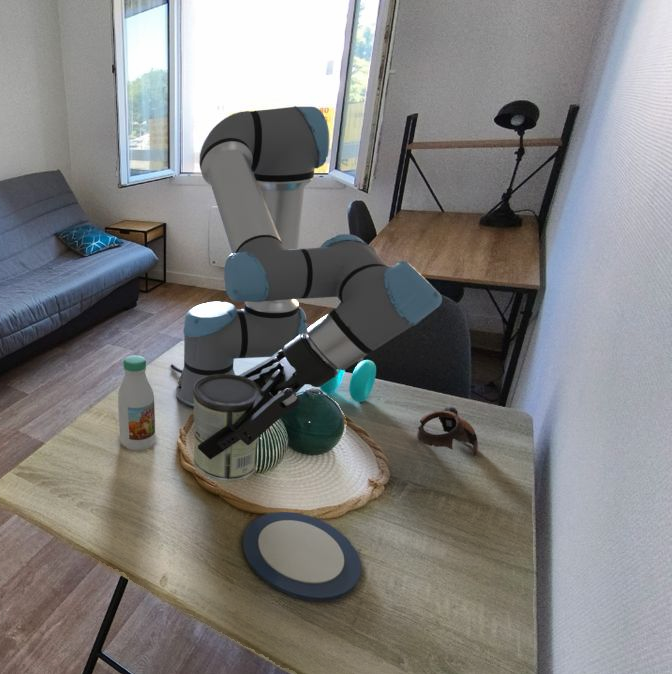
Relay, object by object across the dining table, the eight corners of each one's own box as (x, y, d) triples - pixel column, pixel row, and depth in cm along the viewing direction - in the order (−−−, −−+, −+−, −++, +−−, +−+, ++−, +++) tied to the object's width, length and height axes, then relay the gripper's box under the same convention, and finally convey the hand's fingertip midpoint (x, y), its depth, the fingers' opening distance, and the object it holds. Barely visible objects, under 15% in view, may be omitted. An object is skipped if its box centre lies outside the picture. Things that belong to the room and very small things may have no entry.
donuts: (360, 410, 114) (367, 371, 110) (314, 397, 121) (319, 360, 117) (373, 392, 121) (380, 355, 117) (329, 381, 127) (334, 345, 123)
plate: (222, 557, 80) (222, 551, 80) (273, 501, 91) (274, 496, 90) (333, 624, 69) (334, 618, 68) (377, 551, 79) (378, 545, 79)
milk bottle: (116, 448, 109) (111, 366, 101) (124, 428, 115) (120, 350, 107) (151, 453, 106) (149, 369, 98) (158, 432, 113) (156, 352, 105)
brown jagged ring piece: (484, 467, 95) (469, 437, 92) (426, 470, 101) (410, 442, 99) (479, 422, 103) (466, 392, 100) (425, 427, 109) (411, 400, 107)
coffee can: (210, 437, 91) (212, 367, 85) (266, 458, 84) (273, 384, 78) (180, 466, 84) (180, 393, 78) (239, 491, 77) (244, 413, 72)
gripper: (356, 411, 62) (219, 494, 73) (328, 337, 82) (224, 411, 93) (313, 370, 62) (182, 460, 73) (296, 306, 81) (195, 384, 92)
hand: (206, 432), depth 83 cm, fingers closed on coffee can, 10 cm apart
